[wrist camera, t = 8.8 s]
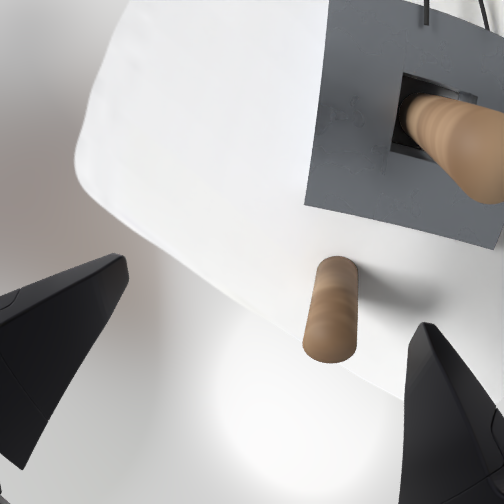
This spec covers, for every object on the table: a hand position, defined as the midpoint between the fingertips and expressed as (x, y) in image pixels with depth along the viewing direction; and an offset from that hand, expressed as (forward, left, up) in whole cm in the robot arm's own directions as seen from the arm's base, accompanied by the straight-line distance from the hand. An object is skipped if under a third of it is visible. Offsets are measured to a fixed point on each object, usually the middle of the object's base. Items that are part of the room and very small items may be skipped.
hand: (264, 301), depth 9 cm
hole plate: (-6, -5, -13) cm, 15 cm away
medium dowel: (-3, +7, -13) cm, 15 cm away
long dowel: (-6, -5, -13) cm, 15 cm away
